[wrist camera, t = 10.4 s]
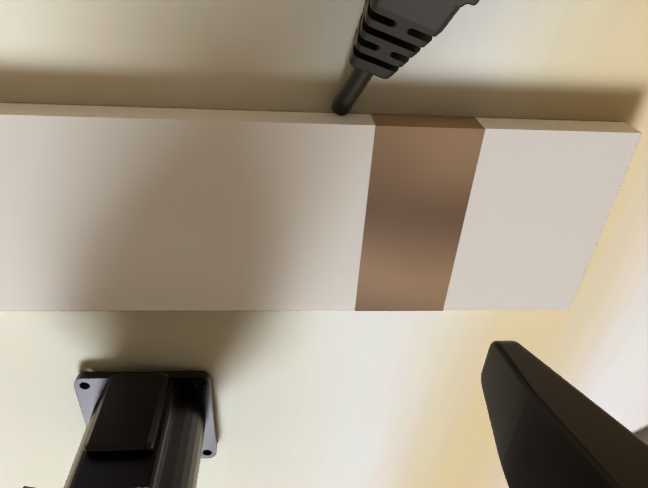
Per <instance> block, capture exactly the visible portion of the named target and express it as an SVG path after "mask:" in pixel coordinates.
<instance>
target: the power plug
mask: <svg viewBox="0 0 648 488" xmlns="http://www.w3.org/2000/svg"><path fill="white" fill-rule="evenodd" d="M478 2H479V0H366V2H365V5H364V9H363V13H362V15H361V18H360V21H359V24H358V28H357V30H356V33H355V36H354V39H353V43H352V48H351V54H350V64H351V66H353V67H354V68H353V70H352V72H351V73H350V75H349V77H348V78H347V80H346V82H345V83H344V85H343V87H342V88H341V90H340V92H339V93H338V95H337V97H336V98H335V100H334V102H333V103H332V109H333V111H334V112H335V113H336V114H337V115H341V116H344V115H346V114H347V113H348V112H349V110H350V109H351V107H352V106H353V104H354V103H355V101H356V100H357V98H358V97H359V95H360V94H361V92H362V91H363V89H364V88H365V86H366V85H367V83H368V82H369V80H370V79H371V77H372V76H373V75H375V76H378V77H380V78H383V79H387V78H389V77H391V76H392V75H393V74H394V73H395V72H396V71H397V70H398V69H399V67H402V66H403V65H404V64H405V63H406V62H408V60H409V58H411V57H413V56H414V55H416V54H417V53H418V52H419V51H420V47H424V46H426V45H427V44H428V43H429V42H430V41H431V40H432V36H433V37H435V36H437V35H438V34H439V33H441V32H442V31H443V29H444V28H445V27H446V26H447V24H448V23H449V22H450V20H451V19H452V18H453V16H454V15H455V14H456V12H457V11H458V10H459V9H460V7H462V6H464V5H465V4H470V5H476V4H477V3H478Z"/></svg>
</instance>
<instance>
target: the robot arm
mask: <svg viewBox="0 0 648 488" xmlns="http://www.w3.org/2000/svg"><path fill="white" fill-rule="evenodd" d="M200 381H202V382H200ZM85 382H86V383H85ZM481 383H482V389H483V393H484V397H485V401H486V405H487V409H488V413H489V418H490V422H491V426H492V430H493V434H494V438H495V443H496V447H497V451H498V455H499V458H500V462H501V465H502V469H503V472H504V475H505V478H506V480H507V483H508V486H509V488H648V445H647V444H646V443H645V442H643V441H642V440H641V439H640V438H638V437H637V436H636V435H635V434H633V433H632V432H631V431H629V430H628V429H627V428H626V427H624V426H623V425H622V424H621V423H619V422H618V421H617V420H616V419H614V418H613V417H612V416H610V415H609V414H608V413H607V412H605V411H604V410H603V409H602V408H600V407H599V406H598V405H596V404H595V403H594V402H593V401H591V400H590V399H589V398H588V397H586V396H585V395H584V394H583V393H581V392H580V391H579V390H577V389H576V388H575V387H574V386H572V385H571V384H570V383H569V382H567V381H566V380H565V379H563V378H562V377H561V376H560V375H558V374H557V373H556V372H555V371H553V370H552V369H551V368H550V367H548V366H547V365H546V364H544V363H543V362H542V361H541V360H539V359H538V358H537V357H536V356H534V355H533V354H532V353H530V352H529V351H528V350H527V349H525V348H524V347H523V346H522V345H520V344H519V343H517V342H515V341H494V342H493V343H492V344H491V345H490V347H489V350H488V354H487V357H486V360H485V363H484V366H483V369H482V373H481ZM74 388H75V391H76V394H77V397H78V401H79V404H80V407H81V411H82V414H83V417H84V420H85V424H86V430H85V433H84V435H83V438H82V441H81V443H80V446H79V448H78V451H77V454H76V456H75V459H74V462H73V464H72V467H71V470H70V472H69V475H68V477H67V480H66V483H65V485H64V488H196V485H197V478H198V472H199V465H200V458H212V457H214V456H215V455H216V451H217V440H216V429H215V419H214V408H213V398H212V387H211V378H210V375H209V374H208V373H206V372H204V371H162V372H85V373H81V374H79V375H78V376H77V378H76V380H75V382H74ZM23 488H34V487H27V486H24V487H23Z"/></svg>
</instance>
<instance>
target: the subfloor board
mask: <svg viewBox="0 0 648 488" xmlns="http://www.w3.org/2000/svg"><path fill="white" fill-rule="evenodd" d="M641 134H642V133H641V132H639V131H638V130H636V129H634V128H633V127H631V126H630V125H628V124H626V123H625V122H607V121H575V120H542V119H510V118H477V117H445V116H412V115H380V114H346V115H344V116H341V115H337V114H336V113H315V112H283V111H250V110H218V109H185V108H153V107H120V106H88V105H55V104H23V103H0V311H282V310H355V311H443V310H570V308H571V306H572V303H573V301H574V299H575V296H576V294H577V291H578V289H579V286H580V284H581V281H582V279H583V276H584V274H585V272H586V269H587V267H588V264H589V262H590V259H591V257H592V254H593V252H594V249H595V247H596V245H597V242H598V240H599V237H600V235H601V232H602V230H603V227H604V225H605V222H606V220H607V218H608V215H609V213H610V210H611V208H612V205H613V203H614V200H615V198H616V195H617V193H618V191H619V188H620V186H621V183H622V181H623V178H624V176H625V173H626V171H627V168H628V166H629V164H630V161H631V159H632V156H633V154H634V151H635V149H636V146H637V144H638V141H639V139H640V137H641Z"/></svg>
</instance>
